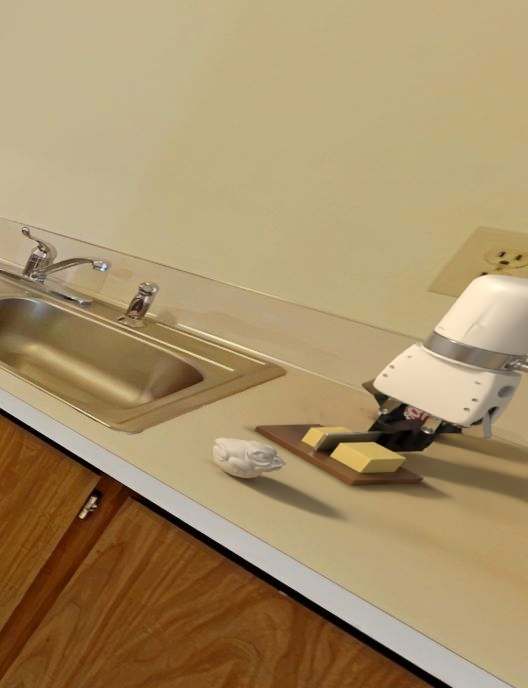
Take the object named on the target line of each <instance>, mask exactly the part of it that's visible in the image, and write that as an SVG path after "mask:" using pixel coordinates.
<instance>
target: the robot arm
mask: <svg viewBox="0 0 528 688" xmlns="http://www.w3.org/2000/svg"><path fill="white" fill-rule="evenodd" d="M520 372H524V373H527V374H528V278H525V277H521V276H513V275H505V274H484V275H481V276H478V277H476V278H474V279H473V280H472V281H471V282H470V283H469V284H468V285H467V287H466V288H465V289H464V291H463V292H462V293H461V295H460V296H459V297H458V298H457V300H456V301H454V303H453V304H452V306H451V307H450V308H449V310H448V311H447V312H446V313H445V315H444V316H443V317H442V318H441V320H440V321H439V322H438V324H437V325H436V326H435V327H434V329H432V331H431V332H430V333H429V335H428V336H427V337H426V339H425V340H424V341H423V342H422V341H421V342H416V343H414V344H412V345H411V346H409V347H408V348H407V349H405V350H403V351H402V352H401V353H400V354H399V355H397V356H396V357H395V358H394V359H392V361H391V362H390V363H388V364H387V365H386V366H385V367H384V368H383V370H382V371H381V372H380V373H379V374H378V375H377V377H376V378H372V379H370V380H368V381H367V380H366V381H365V382H363V383H361V387H362V388H363V389H365V390H366V391H367V392H368V393H369V394H370V395H371V396H373V397H374V400H375V401H376V402H377V403H376V404H378V406H379V408H378V412H379V411H380V412H381V415H380V416H379V415H378V417H377V418H376V420H396V419H407V418H406V417H407V416H405V415H404V413H405V412H406V411H407V410H408V409H409V408H410V407H411V406H412V407H414V408H416V409H418V410H421V411H423V412H425V413H428V414H430V416H429V417H428V419H427V420H426V422H425V423H424V424H423V426H421V427H420V428H414V429H412V431H411V432H410V433H409V434H408V436H407V437H406V438H405V439H404V440H403V442H402V443H401V444H400V447H402V448H404V449H424V448H425V449H428V448H429V447H430V446H431V445H432V444H433V442H434V441H435V440H436V439H437V438H438V437H439V436H440V435H442V434H443V435H444V434H445V435H448V434H450V435H451V434H452V435H454V434H455V435H461V436H466V437H469V438H476V439H491V438H492V437H493V431H492V425H493V424H495V422H496V421H498V419H499V418H500V417H501V415H503V413H504V412H505V410H506V409H507V407H508V406H509V404H510V403H511V401H512V400H513V398H514V397H515V394H516V392H517V391H518V388H519V386H520V383H521V381H522V377H523V376H522V374H521V373H520ZM373 424H374V422H373V423H372V425H373ZM439 434H440V435H439ZM425 449H424V450H425Z"/></svg>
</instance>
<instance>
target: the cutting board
mask: <svg viewBox="0 0 528 688" xmlns="http://www.w3.org/2000/svg"><path fill="white" fill-rule="evenodd" d="M318 427H325V426H323V425H322V424H320V423H305V424H303V423H302V424H273V425H272V424H270V425H267V424H266V425H257V426H256V427H255V428H254V430H253V431H254V432H256V433H258V434H259V435H261V436H263V437H265V438H266V439H268V440H269V441H271V442H273V443H275V444H277V445H279V446H281V447H282V448H283V449H285V450H287V451H289V452H290V453H292V454H294V455H296V456H297V457H300V458H301V459H302V460H304V461H306V462H308V463H310V464H312V465H313V466H315V467H317V468H319V469H321V470H323V471H324V472H326V473H327V474H329V475H331V476H332V477H334V478H336V479H338V480H339V481H341V482H342V483H345V484H347V485H348V486H350V487H351V486H352V487H353V486H381V485H382V486H383V485H412V484H421V482H422V481H423V480H425V478H424V477H423V476H421V475H419V474H417V473H415V472H413V471H411V470H410V469H408V468H405V467H403V466H402V465H400V466H399V467H398V468H397V470H396V471H395V472H376V473H359V472H358V471H356V470H354V469H352V468H350V467H349V466H347V465H345V464H343V463H341V462H339V461H338V460H336V459H334V458H332V457H330V456H331V454H332V453H333V452H334V450H315V449H313V448H314V447H312V446H310V445H308V444H307V443H305V442H303V441H302V439H303V438H304V437H305V435H306V434H307V433H308V431H309V430H310V429H311V428H318Z"/></svg>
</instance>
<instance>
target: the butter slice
mask: <svg viewBox="0 0 528 688" xmlns="http://www.w3.org/2000/svg"><path fill="white" fill-rule="evenodd" d="M342 432H354V431H353V430H351V429H349V428H347V427H346V426H345V427H344V426H324V427H318V428H311V429H310V430H309V431H308V433H307V434H306V435H305V437H304V438H303V439H302V441H303V442H305V443H307V444H308V445H310V446H312V447H315V445H316V444H317V443H318V441H319V440H320V439H321V437H322V436H323V435H324V434H325V433H342Z"/></svg>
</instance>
